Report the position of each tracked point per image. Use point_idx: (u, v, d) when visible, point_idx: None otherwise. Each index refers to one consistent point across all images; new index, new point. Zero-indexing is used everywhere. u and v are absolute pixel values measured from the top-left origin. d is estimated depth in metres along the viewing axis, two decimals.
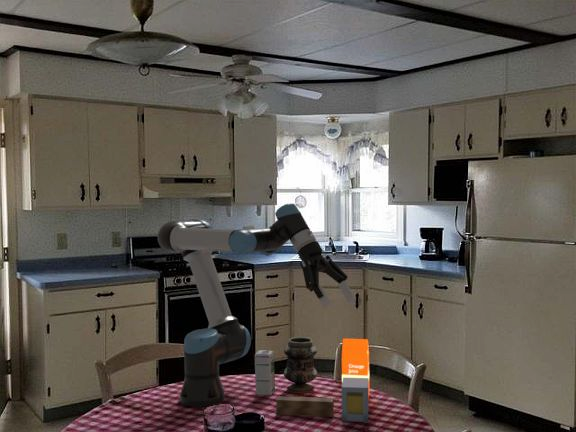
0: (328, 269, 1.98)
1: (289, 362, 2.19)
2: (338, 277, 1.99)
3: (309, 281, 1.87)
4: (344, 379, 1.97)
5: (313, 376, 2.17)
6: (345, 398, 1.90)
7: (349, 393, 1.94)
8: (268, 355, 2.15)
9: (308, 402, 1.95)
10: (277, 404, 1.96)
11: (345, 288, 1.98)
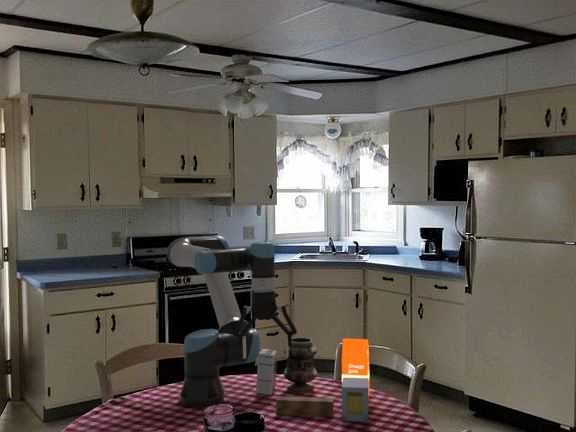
0: (274, 320, 1.96)
1: (289, 362, 2.19)
2: (283, 330, 1.96)
3: (234, 330, 1.97)
4: (344, 379, 1.97)
5: (313, 376, 2.17)
6: (345, 398, 1.90)
7: (349, 393, 1.94)
8: (272, 356, 2.14)
9: (308, 402, 1.95)
10: (277, 404, 1.96)
11: None
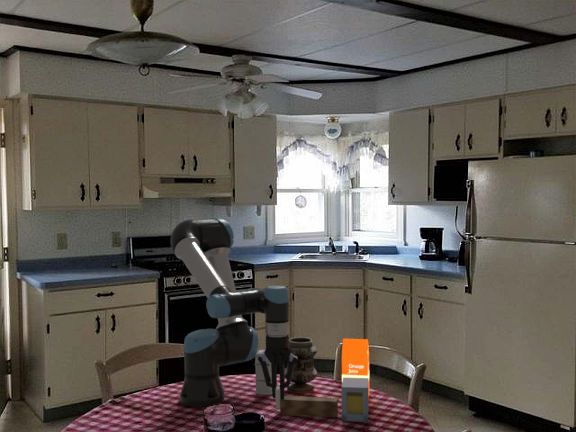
0: None
1: (289, 362, 2.19)
2: (280, 380, 1.97)
3: None
4: (344, 379, 1.97)
5: (313, 376, 2.17)
6: (345, 398, 1.90)
7: (349, 393, 1.94)
8: None
9: (311, 402, 1.94)
10: (281, 404, 1.96)
11: None
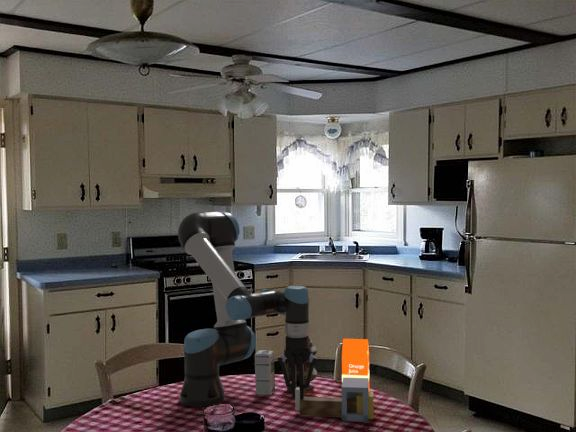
0: None
1: (289, 362, 2.19)
2: None
3: None
4: (344, 379, 1.97)
5: (313, 376, 2.17)
6: (345, 398, 1.90)
7: (359, 393, 1.94)
8: (268, 355, 2.15)
9: (331, 403, 1.93)
10: (300, 404, 1.95)
11: None
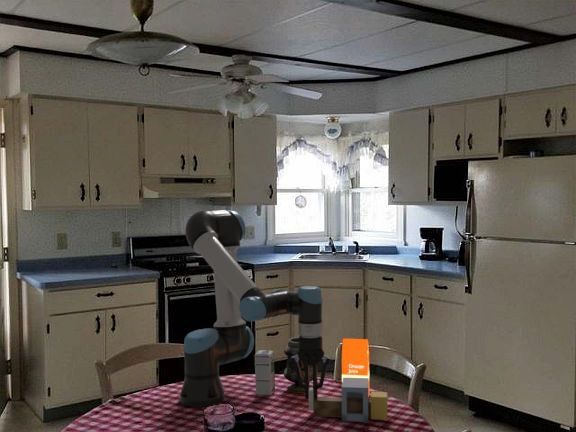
0: None
1: (289, 362, 2.19)
2: (313, 381, 1.95)
3: None
4: (344, 379, 1.97)
5: None
6: (345, 398, 1.90)
7: (373, 394, 1.93)
8: (268, 355, 2.15)
9: None
10: (314, 404, 1.94)
11: None
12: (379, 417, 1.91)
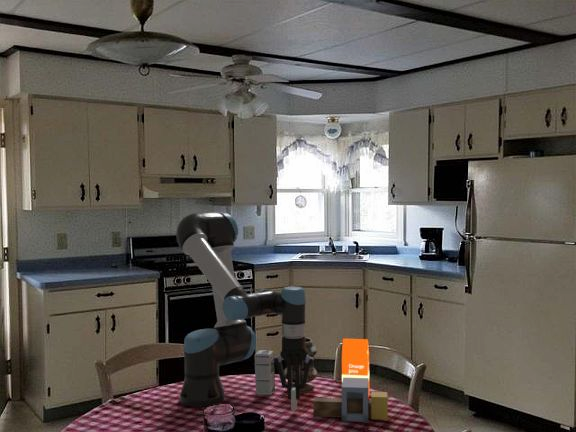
0: None
1: None
2: None
3: None
4: (344, 379, 1.97)
5: (313, 376, 2.17)
6: (345, 398, 1.90)
7: (373, 394, 1.93)
8: (268, 355, 2.15)
9: None
10: (314, 405, 1.94)
11: None
12: (379, 417, 1.91)
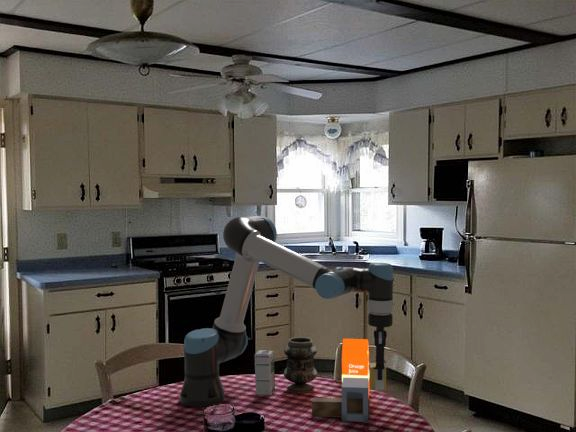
0: None
1: (289, 362, 2.19)
2: None
3: (381, 364, 1.87)
4: (344, 379, 1.97)
5: (313, 376, 2.17)
6: (345, 398, 1.90)
7: (372, 365, 1.93)
8: (268, 355, 2.15)
9: None
10: (313, 406, 1.94)
11: None
12: None
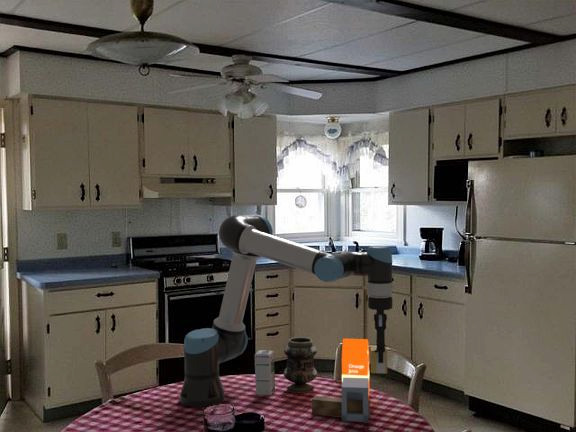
0: None
1: (289, 362, 2.19)
2: None
3: (382, 346, 1.86)
4: (344, 379, 1.97)
5: (313, 376, 2.17)
6: (345, 398, 1.90)
7: (372, 348, 1.93)
8: (268, 355, 2.15)
9: None
10: (312, 403, 1.96)
11: None
12: None
